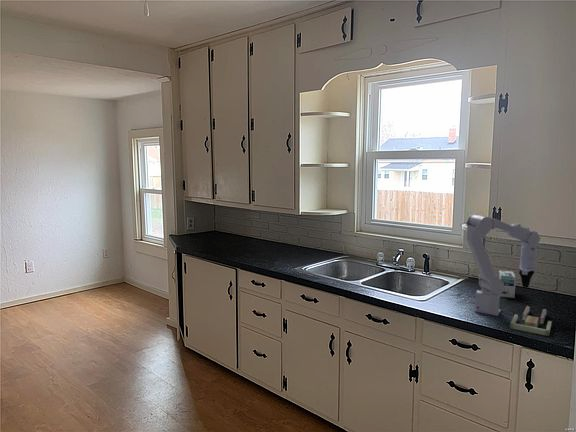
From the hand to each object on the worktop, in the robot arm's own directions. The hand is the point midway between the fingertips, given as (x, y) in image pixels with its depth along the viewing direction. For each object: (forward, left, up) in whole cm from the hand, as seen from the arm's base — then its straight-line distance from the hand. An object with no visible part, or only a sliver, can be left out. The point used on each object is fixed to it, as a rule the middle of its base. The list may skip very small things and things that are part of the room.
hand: (525, 286), depth 191 cm
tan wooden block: (+5, -22, -11) cm, 25 cm away
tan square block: (+5, -18, -11) cm, 21 cm away
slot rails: (+5, -8, -10) cm, 14 cm away
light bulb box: (-10, +18, -11) cm, 23 cm away
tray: (+5, -20, -10) cm, 24 cm away
